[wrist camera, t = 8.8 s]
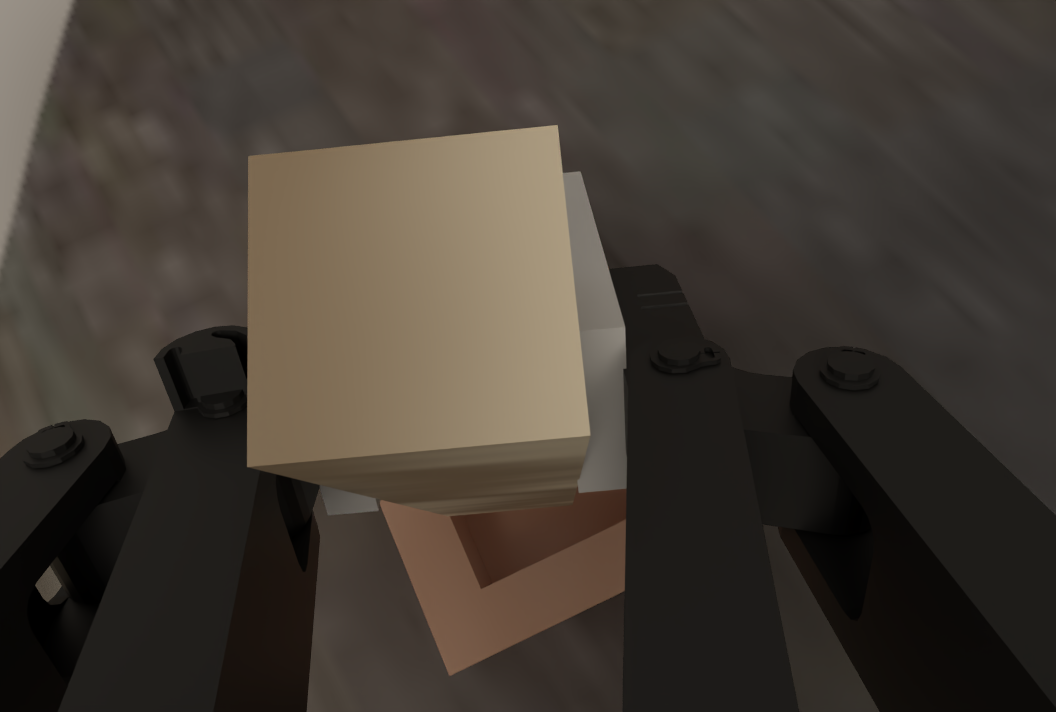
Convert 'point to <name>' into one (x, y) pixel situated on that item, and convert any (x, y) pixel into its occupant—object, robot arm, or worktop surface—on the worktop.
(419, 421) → the beige tall square post
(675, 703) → the robot arm
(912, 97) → the worktop surface
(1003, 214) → the worktop surface
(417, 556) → the orange-brown square frame
